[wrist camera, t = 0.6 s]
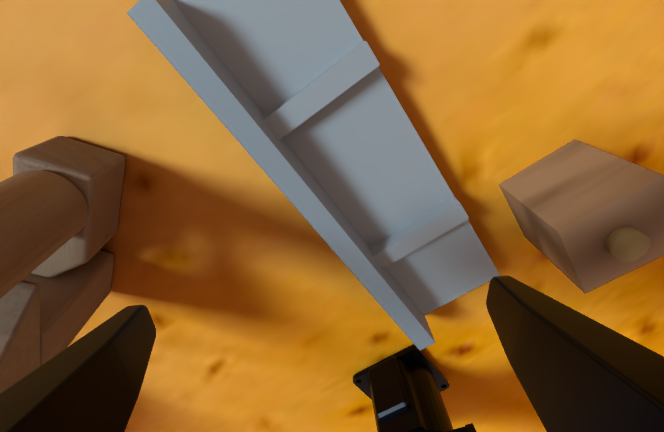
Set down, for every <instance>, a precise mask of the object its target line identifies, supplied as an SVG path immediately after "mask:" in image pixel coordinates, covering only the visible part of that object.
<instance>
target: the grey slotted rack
mask: <svg viewBox="0 0 664 432" xmlns="http://www.w3.org/2000/svg"><path fill="white" fill-rule="evenodd" d="M127 14H128V15H129V16H130V17H131V18H132V19H133V21H134V22H135V23H136V24H137V25H138V26H139V28H140V29H141V30H142V31H143V32H144V33H145V34H146V36H147V37H148V38H149V39H150V40H151V41H152V42H153V44H154V45H155V46H156V47H157V48H158V49H159V51H160V52H161V53H162V54H163V55H164V56H165V57H166V59H167V60H168V61H169V62H170V63H171V64H172V66H173V67H174V68H175V69H176V70H177V71H178V72H179V74H180V75H181V76H182V77H183V78H184V79H185V81H186V82H187V83H188V84H189V85H190V86H191V87H192V89H193V90H194V91H195V92H196V93H197V94H198V96H199V97H200V98H201V99H202V100H203V101H204V102H205V104H206V105H207V106H208V107H209V108H210V109H211V110H212V112H213V113H214V114H215V115H216V116H217V117H218V119H219V120H220V121H221V122H222V123H223V124H224V125H225V127H226V128H227V129H228V130H229V131H230V132H231V134H232V135H233V136H234V137H235V138H236V139H237V140H238V142H239V143H240V144H241V145H242V146H243V147H244V149H245V150H246V151H247V152H248V153H249V154H250V155H251V157H252V158H253V159H254V160H255V161H256V162H257V164H258V165H259V166H260V167H261V168H262V169H263V170H264V172H265V173H266V174H267V175H268V176H269V177H270V179H271V180H272V181H273V182H274V183H275V184H276V185H277V187H278V188H279V189H280V190H281V191H282V192H283V193H284V195H285V196H286V197H287V198H288V199H289V200H290V202H291V203H292V204H293V205H294V206H295V207H296V208H297V210H298V211H299V212H300V213H301V214H302V215H303V217H304V218H305V219H306V220H307V221H308V222H309V223H310V225H311V226H312V227H313V228H314V229H315V230H316V232H317V233H318V234H319V235H320V236H321V237H322V238H323V240H324V241H325V242H326V243H327V244H328V245H329V247H330V248H331V249H332V250H333V251H334V252H335V253H336V255H337V256H338V257H339V258H340V259H341V260H342V261H343V263H344V264H345V265H346V266H347V267H348V268H349V270H350V271H351V272H352V273H353V274H354V275H355V276H356V278H357V279H358V280H359V281H360V282H361V283H362V285H363V286H364V287H365V288H366V289H367V290H368V291H369V293H370V294H371V295H372V296H373V297H374V298H375V300H376V301H377V302H378V303H379V304H380V305H381V306H382V308H383V309H384V310H385V311H386V312H387V313H388V315H389V316H390V317H391V318H392V319H393V320H394V321H395V323H396V324H397V325H398V326H399V327H400V328H401V329H402V331H403V332H404V333H405V334H406V335H407V336H408V338H409V339H410V340H411V341H412V342H413V343H414V344H415V346H416V347H417V348H418V349H419V350H422V349H424V348H426V347H428V346H430V345H432V344H434V343H435V340H434V338H433V335H432V333H431V330H430V328H429V326H428V323H427V321H426V318H425V316H424V315H426V314H428V313H430V312H432V311H434V310H436V309H437V308H439V307H441V306H443V305H445V304H447V303H449V302H451V301H453V300H455V299H456V298H458V297H460V296H462V295H464V294H466V293H468V292H470V291H472V290H473V289H475V288H477V287H479V286H481V285H483V284H485V283H487V282H489V281H490V280H491V279H492V278H493V277H495V276H500V274H499V272H498V270H497V269H496V267H495V265H494V263H493V262H492V260H491V258H490V257H489V255H488V253H487V251H486V250H485V248H484V246H483V245H482V243H481V241H480V239H479V238H478V236H477V234H476V233H475V231H474V229H473V227H472V226H471V224H470V222H469V221H468V219H469V217H468V215H467V213H466V212H465V210H464V208H463V207H462V205H461V203H460V202H459V201H458V200H457V199H456V198H455V197H454V195H453V193H452V192H451V190H450V188H449V186H448V185H447V183H446V181H445V180H444V178H443V176H442V174H441V173H440V171H439V169H438V168H437V166H436V164H435V162H434V161H433V159H432V157H431V156H430V154H429V152H428V150H427V149H426V147H425V145H424V144H423V142H422V140H421V139H420V137H419V135H418V133H417V132H416V130H415V128H414V127H413V125H412V123H411V121H410V120H409V118H408V116H407V115H406V113H405V111H404V109H403V108H402V106H401V104H400V103H399V101H398V99H397V97H396V96H395V94H394V92H393V91H392V89H391V87H390V85H389V84H388V82H387V80H386V79H385V77H384V75H383V73H382V72H381V70H380V68H379V67H378V66H379V65H380V64H379V62H378V60H377V58H376V57H375V55H374V53H373V52H372V50H371V48H370V46H369V45H368V43H367V41H363V39H362V38H361V36H360V34H359V32H358V31H357V29H356V27H355V26H354V24H353V22H352V20H351V19H350V17H349V15H348V14H347V12H346V10H345V8H344V7H343V5H342V3H341V2H340V0H140V1H139V2H138V3H137V4H136V5H135V6H133V7H132V8H131V9H130V10H129V11H128V12H127Z"/></svg>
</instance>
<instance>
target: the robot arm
mask: <svg viewBox="0 0 664 432" xmlns="http://www.w3.org/2000/svg"><path fill="white" fill-rule="evenodd" d="M486 305H487V309H488V312H489V314H490V317H491V319H492V322H493V324H494V327H495V329H496V331H497V334H498V336H499V339H500V341H501V343H502V346H503V348H504V351H505V353H506V355H507V358H508V360H509V362H510V364H511V366H512V368H513V370H514V372H515V374H516V376H517V378H518V379H519V381H520V383H521V385H522V387H523V389H524V390H525V392H526V394H527V396H528V398H529V400H530V401H531V403H532V405H533V407H534V409H535V411H536V413H537V414H538V416H539V418H540V420H541V422H542V424H543V425H544V427H545V429H546V431H547V432H664V357H663V356H661V355H660V354H658V353H656V352H654V351H652V350H650V349H648V348H646V347H644V346H642V345H640V344H638V343H637V342H635V341H633V340H631V339H629V338H627V337H625V336H623V335H621V334H619V333H617V332H616V331H614V330H612V329H610V328H608V327H606V326H604V325H602V324H600V323H598V322H596V321H595V320H593V319H591V318H589V317H587V316H585V315H583V314H581V313H579V312H577V311H575V310H573V309H572V308H570V307H568V306H566V305H564V304H562V303H560V302H558V301H556V300H554V299H552V298H551V297H549V296H547V295H545V294H543V293H541V292H539V291H537V290H535V289H533V288H531V287H530V286H528V285H526V284H524V283H522V282H520V281H518V280H516V279H514V278H512V277H510V276H495V277H493V278H492V279H491V280H490V284H489V290H488V295H487V300H486ZM155 337H156V328H155V325H154V323H153V320H152V318H151V315H150V313H149V310H148V308H147V307H146V306H145V305H134V306H128V307H126V308H124V309H123V310H121V311H120V312H118V313H117V314H115V315H114V316H113V317H111V318H110V319H108V320H107V321H105V322H104V323H102V324H101V325H99V326H98V327H97V328H95V329H94V330H92V331H91V332H89V333H88V334H86V335H85V336H83V337H82V338H80V339H79V340H78V341H76V342H75V343H73V344H72V345H70V346H69V347H67V348H66V349H64V350H63V351H62V352H60V353H59V354H57V355H56V356H54V357H53V358H51V359H50V360H48V361H47V362H45V363H44V364H43V365H41V366H40V367H38V368H37V369H35V370H34V371H32V372H31V373H29V374H28V375H27V376H25V377H24V378H22V379H21V380H19V381H18V382H16V383H15V384H13V385H12V386H10V387H9V388H8V389H6V390H5V391H3V392H2V393H0V432H124V431H125V429H126V426H127V424H128V421H129V419H130V416H131V414H132V411H133V409H134V406H135V404H136V401H137V398H138V396H139V393H140V389H141V386H142V383H143V379H144V376H145V372H146V369H147V365H148V362H149V358H150V355H151V351H152V348H153V345H154V341H155ZM353 383H354V384H355V385H356V386H357V387H358V388H359V389H361V390H362V391H363V392H364V393H365V394H366V395H367V396H368V397H369V398H370V399H372V402H373V408H374V414H375V419H376V425H377V431H378V432H476V430H475V428H474V425H473V423H471V424H467V425H465V427H462V428H458V429H454V430H453V427H452V424H451V421H450V419H449V416H448V413H447V410H446V408H445V405H444V402H443V399H442V397H441V394H440V392H441V391H443V390H445V389H447V388H448V387H449V383H448V381H447V379H446V378H445V377H444V376H443V375H442V373H441V372H440V371H439V370H438V369H437V368H436V367H435V365H434V364H433V363H432V362H431V361H430V360H429V358H428V357H427V356H426V355H425V354H424V353H423V351H422V350H419V349H418V348H417V347H416V346H415V345H412V346H410V347H408V348H406V349H404V350H402V351H400V352H398V353H396V354H394V355H392V356H390V357H388V358H386V359H384V360H382V361H380V362H379V363H377V364H375V365H373V366H371V367H369V368H367V369H365V370H363V371H361V372H359V373H357V374H355V375H354V376H353Z"/></svg>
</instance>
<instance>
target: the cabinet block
mask: <svg viewBox="0 0 664 432" xmlns="http://www.w3.org/2000/svg"><path fill="white" fill-rule="evenodd" d="M499 186H500V188H501V190H502V192H503V194H504V196H505V198H506V200H507V202H508V204H509V206H510V208H511V210H512V212H513V214H514V216H515V218H516V220H517V222H518V224H519V226H520V228H521V230H522V232H523V234H524V236H525V237H526V238H527V239H528V240H529V241H530V242H531V243H532V244H533V245H534V246H535V247H536V248H537V249H538V250H539V251H540V252H542V253H543V254H544V255H545V256H546V257H547V258H548V259H549V260H550V261H551V262H552V263H553V264H554V265H555V266H556V267H557V268H558V269H560V270H561V271H562V272H563V273H564V274H565V275H566V276H567V277H568V278H569V279H570V280H571V281H572V282H573V283H574V284H575V285H576V286H578V287H579V288H580V289H581V290H582V291H583V292H584V293H587V292H589V291H591V290H593V289H595V288H597V287H600V286H602V285H604V284H606V283H608V282H610V281H612V280H614V279H616V278H618V277H620V276H622V275H624V274H626V273H628V272H630V271H632V270H635V269H637V268H639V267H641V266H643V265H645V264H647V263H649V262H651V261H653V260H655V259H657V258H659V257H661V256H663V255H664V176H663V175H662V174H659V173H657V172H654V171H652V170H649V169H647V168H644V167H642V166H639V165H637V164H634V163H632V162H629V161H627V160H624V159H622V158H619V157H617V156H615V155H612V154H610V153H607V152H605V151H602V150H600V149H597V148H595V147H592V146H590V145H587V144H585V143H582V142H580V141H577V140H575V139H574V140H573V141H571V142H569V143H568V144H566V145H564V146H563V147H561V148H559V149H558V150H556V151H554V152H553V153H551V154H549V155H547V156H546V157H544V158H542V159H541V160H539V161H537V162H536V163H534V164H532V165H531V166H529V167H527V168H526V169H524V170H522V171H521V172H519V173H517V174H516V175H514V176H512V177H511V178H509V179H507V180H505V181H504V182H502V183H500V184H499Z"/></svg>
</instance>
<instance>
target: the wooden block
mask: <svg viewBox="0 0 664 432" xmlns="http://www.w3.org/2000/svg"><path fill="white" fill-rule="evenodd" d="M125 160H126V159H125V156H123V155H122V154H118V153H115V152H112V151H109V150H106V149H103V148H99V147H96V146H93V145H90V144H87V143H83V142H80V141H77V140H74V139H71V138H67V137H64V136H57V137H55V138H52V139H50V140H47V141H45V142H42V143H40V144H37V145H35V146H33V147H30V148H28V149H25V150H23V151H20V152H18V153H16V154H15V155H14V157H13V176H12V177H10V178H8V179H6V180H4V181H2V182H0V393H2V392H3V391H5V390H6V389H8V388H9V387H10V386H12V385H13V384H15V383H16V382H18V381H19V380H21V379H22V378H24V377H25V376H27V375H28V374H29V373H31V372H32V371H34V370H35V369H37V368H38V367H40V366H41V365H43V364H44V363H45V362H47V361H48V360H50V359H51V358H53V357H54V356H56V355H57V354H59V353H60V352H62V351H63V350H64V349H66V348H67V347H68V345H69V344H70V343H71V342H72V340H73V339H74V338H75V336H76V335H77V334H78V333H79V331H80V330H81V329H82V327H83V326H84V325H85V324H86V322H87V321H88V320H89V318H90V317H91V316H92V315H93V313H94V312H95V311H96V309H97V308H98V307H99V306H100V304H101V303H102V302H103V300H104V299H105V298H106V297H107V295H108V294H109V293H110V290H111V281H112V273H113V264H114V255H113V254H111V253H109V252H105V251H101V250H100V249H101V248H102V247H103V246H104V245H105V244H106V243H107V242H108V241H109V240H110V239H111V238H112V237H113V236H114V235H115V234H116V232H117V228H118V220H119V211H120V203H121V194H122V186H123V177H124V169H125Z"/></svg>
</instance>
